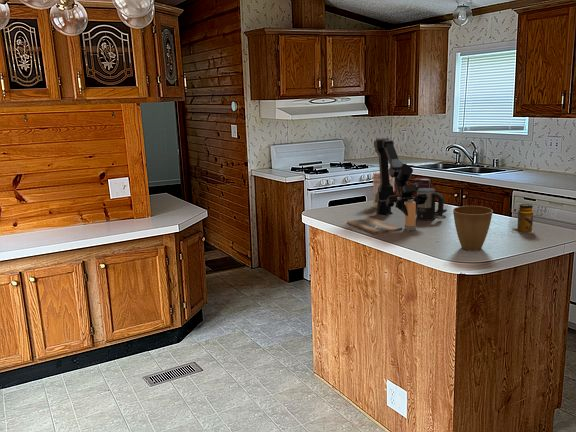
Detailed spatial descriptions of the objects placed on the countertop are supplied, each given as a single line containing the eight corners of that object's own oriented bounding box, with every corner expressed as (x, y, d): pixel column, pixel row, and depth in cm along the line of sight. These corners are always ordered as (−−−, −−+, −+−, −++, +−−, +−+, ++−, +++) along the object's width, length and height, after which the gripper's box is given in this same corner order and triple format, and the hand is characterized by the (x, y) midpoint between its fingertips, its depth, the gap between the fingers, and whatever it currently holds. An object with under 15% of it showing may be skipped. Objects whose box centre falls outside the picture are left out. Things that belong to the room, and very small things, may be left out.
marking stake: (404, 228, 251) (404, 199, 248) (412, 227, 252) (412, 198, 249) (407, 230, 247) (408, 201, 244) (416, 230, 248) (416, 200, 245)
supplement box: (430, 207, 294) (430, 178, 290) (428, 209, 290) (429, 180, 286) (414, 206, 297) (414, 178, 294) (412, 208, 293) (412, 179, 290)
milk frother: (414, 220, 267) (414, 190, 264) (419, 213, 281) (420, 185, 278) (443, 221, 262) (444, 191, 258) (447, 214, 276) (448, 186, 272)
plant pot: (445, 245, 222) (446, 207, 218) (477, 241, 225) (478, 204, 221) (464, 255, 207) (465, 215, 204) (498, 251, 211) (500, 211, 207)
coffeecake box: (384, 208, 296) (384, 173, 291) (372, 207, 300) (372, 173, 295) (395, 203, 308) (395, 169, 304) (383, 202, 312) (383, 169, 307)
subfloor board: (373, 219, 272) (373, 217, 272) (402, 229, 249) (402, 227, 249) (347, 223, 266) (347, 221, 266) (374, 234, 244) (374, 232, 244)
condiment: (533, 233, 234) (535, 206, 231) (512, 232, 236) (514, 206, 234) (531, 229, 240) (533, 203, 238) (511, 228, 243) (512, 202, 240)
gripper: (388, 178, 247) (396, 207, 238) (426, 176, 249) (436, 203, 241) (382, 192, 256) (390, 220, 248) (419, 189, 259) (428, 217, 251)
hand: (411, 215), depth 247 cm, fingers closed on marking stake, 4 cm apart
